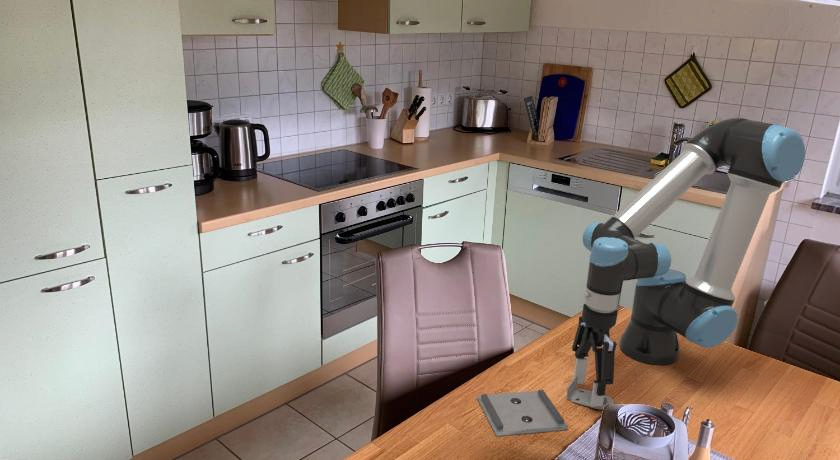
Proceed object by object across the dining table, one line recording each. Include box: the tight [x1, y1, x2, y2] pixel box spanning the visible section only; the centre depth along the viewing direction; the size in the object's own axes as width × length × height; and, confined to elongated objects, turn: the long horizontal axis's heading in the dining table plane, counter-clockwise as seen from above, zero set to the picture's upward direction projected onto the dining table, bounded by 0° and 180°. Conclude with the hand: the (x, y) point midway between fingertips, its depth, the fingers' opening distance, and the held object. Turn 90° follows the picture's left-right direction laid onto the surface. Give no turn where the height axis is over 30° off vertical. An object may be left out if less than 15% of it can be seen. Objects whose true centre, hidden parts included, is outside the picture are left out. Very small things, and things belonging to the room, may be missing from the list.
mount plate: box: [477, 389, 569, 437], centre depth 144 cm, size 16×14×2 cm
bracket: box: [566, 376, 615, 410], centre depth 150 cm, size 7×10×4 cm, turn 58°
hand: (587, 393), depth 152 cm, fingers closed on bracket, 9 cm apart
